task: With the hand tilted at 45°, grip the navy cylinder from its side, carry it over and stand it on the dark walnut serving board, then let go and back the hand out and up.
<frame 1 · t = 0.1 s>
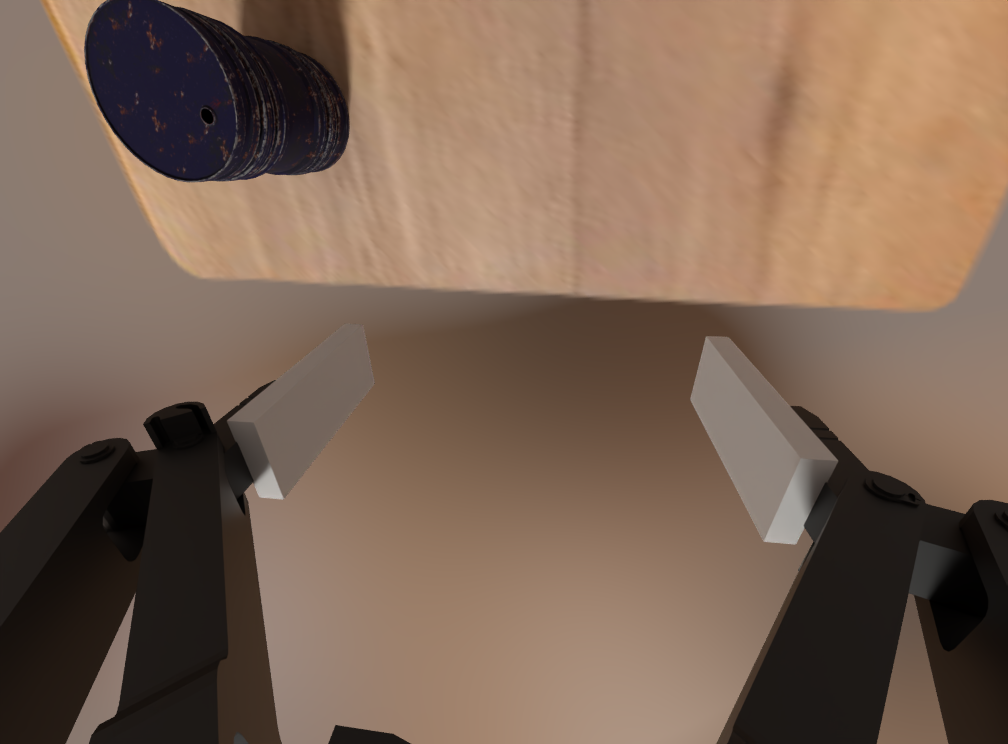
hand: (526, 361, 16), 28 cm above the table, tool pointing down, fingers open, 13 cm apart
navy cylinder: (301, 115, 38), on the table
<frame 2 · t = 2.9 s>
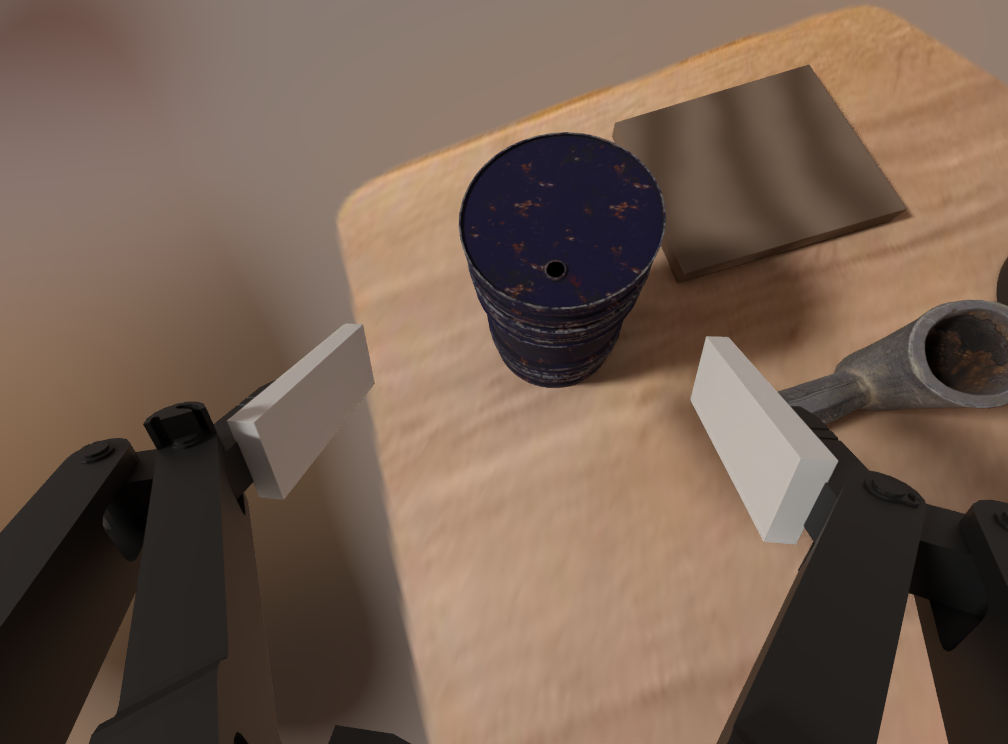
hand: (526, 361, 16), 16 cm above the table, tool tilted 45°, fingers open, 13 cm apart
navy cylinder: (553, 332, 33), on the table
pipe: (834, 397, 30), on the table
walnut serving board: (742, 175, 35), on the table
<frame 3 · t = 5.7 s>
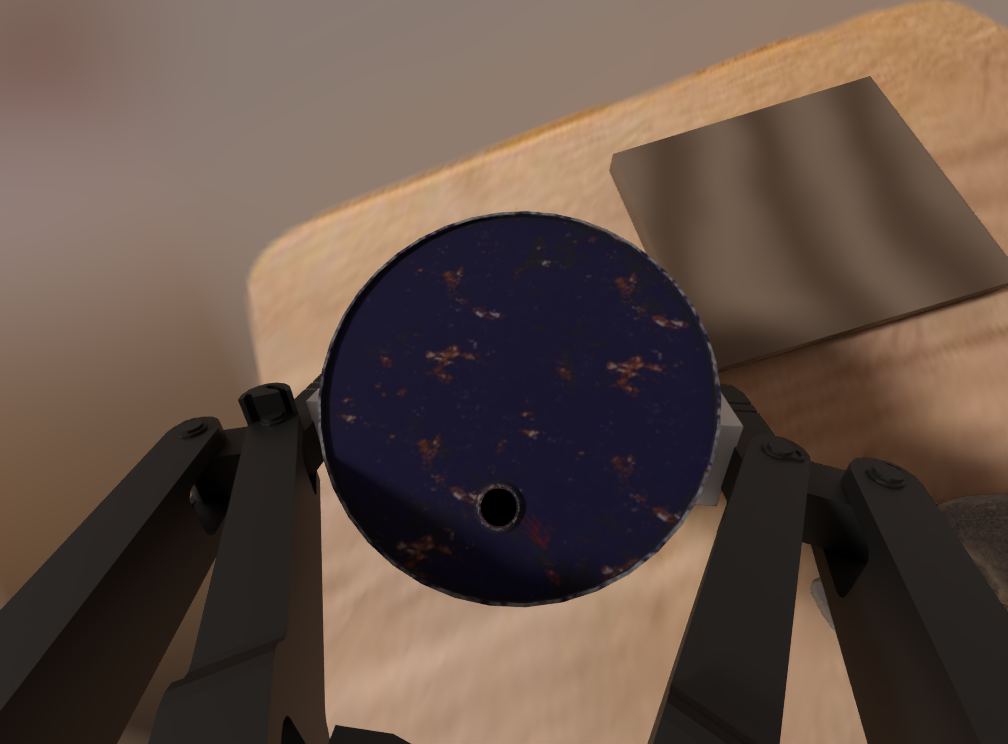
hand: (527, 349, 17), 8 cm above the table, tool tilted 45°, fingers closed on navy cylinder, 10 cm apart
navy cylinder: (530, 445, 24), on the table, touching gripper
pipe: (921, 561, 21), on the table
walnut serving board: (784, 225, 26), on the table
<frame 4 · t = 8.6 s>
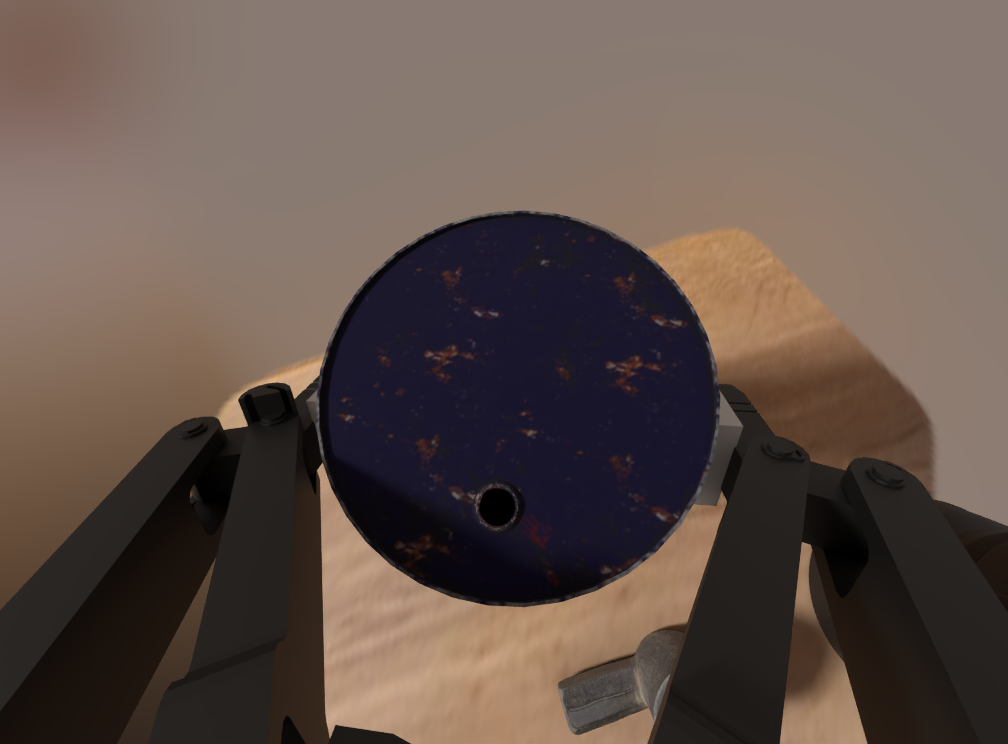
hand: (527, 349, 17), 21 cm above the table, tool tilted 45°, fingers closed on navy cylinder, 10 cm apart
navy cylinder: (529, 445, 24), point 13 cm above the table, touching gripper
pipe: (638, 668, 32), on the table
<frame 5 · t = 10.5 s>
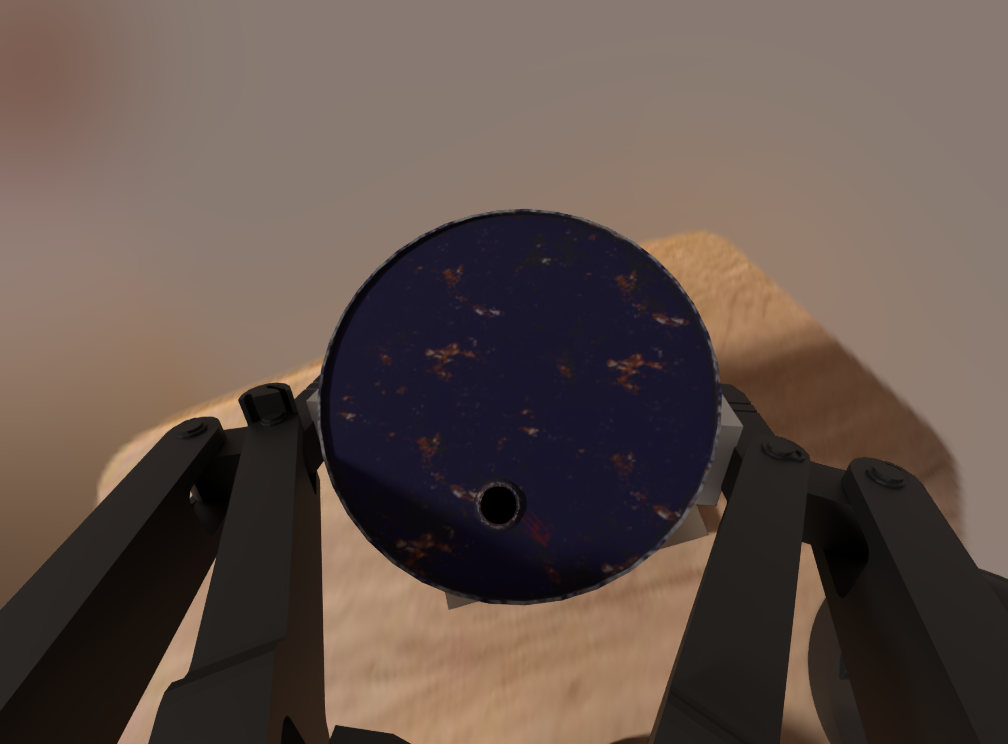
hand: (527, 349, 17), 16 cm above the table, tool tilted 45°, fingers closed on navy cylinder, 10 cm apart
navy cylinder: (530, 444, 24), point 7 cm above the table, touching gripper
walnut serving board: (542, 456, 31), on the table
when the fingers open (11 cm above the table, at t = 12.0 s): navy cylinder drops 1 cm, resting on walnut serving board.
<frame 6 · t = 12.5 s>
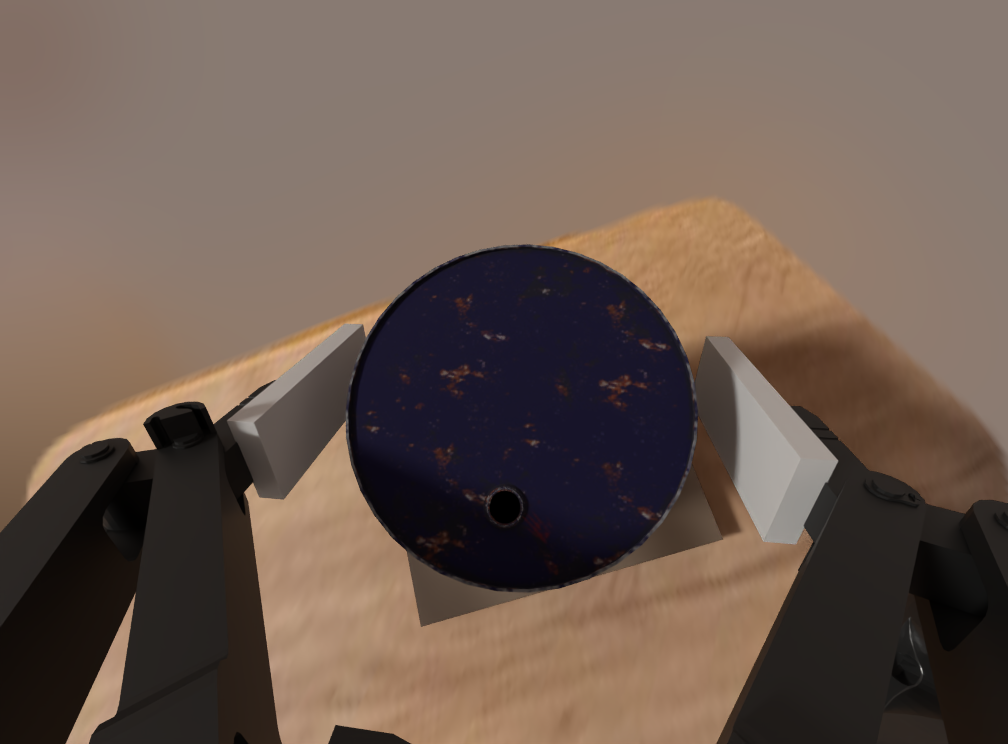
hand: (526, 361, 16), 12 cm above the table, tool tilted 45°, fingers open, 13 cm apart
navy cylinder: (531, 448, 26), point 1 cm above the table, touching walnut serving board
walnut serving board: (531, 449, 27), on the table
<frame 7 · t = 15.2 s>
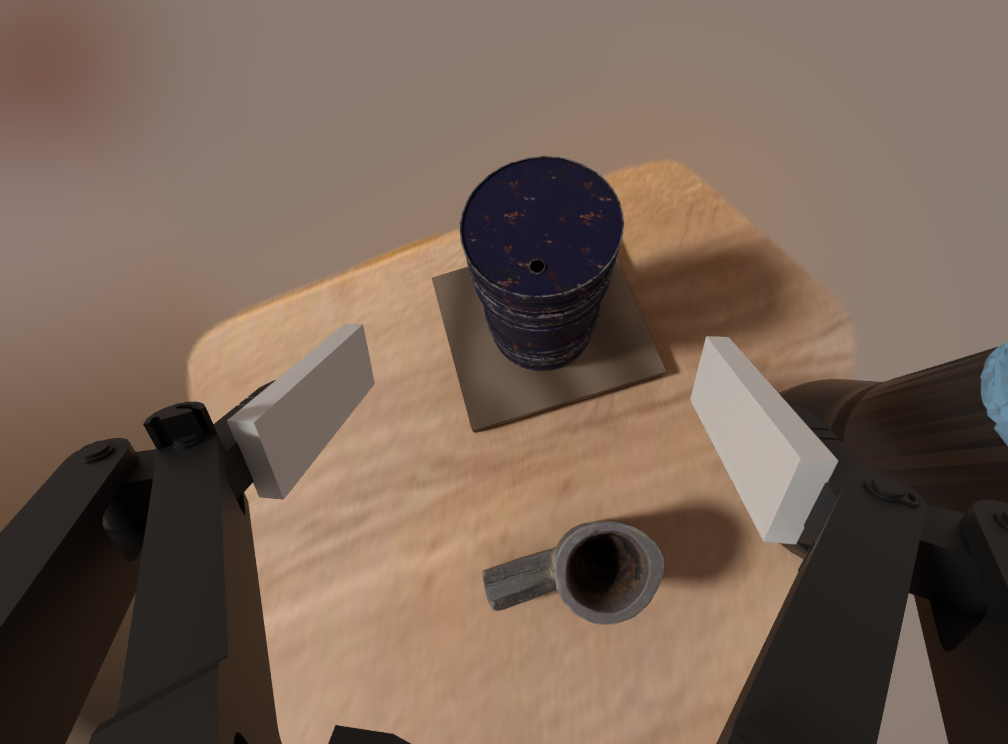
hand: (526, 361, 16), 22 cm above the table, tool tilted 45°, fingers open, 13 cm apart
navy cylinder: (541, 323, 38), point 1 cm above the table, touching walnut serving board
pipe: (563, 561, 34), on the table
walnut serving board: (541, 327, 39), on the table
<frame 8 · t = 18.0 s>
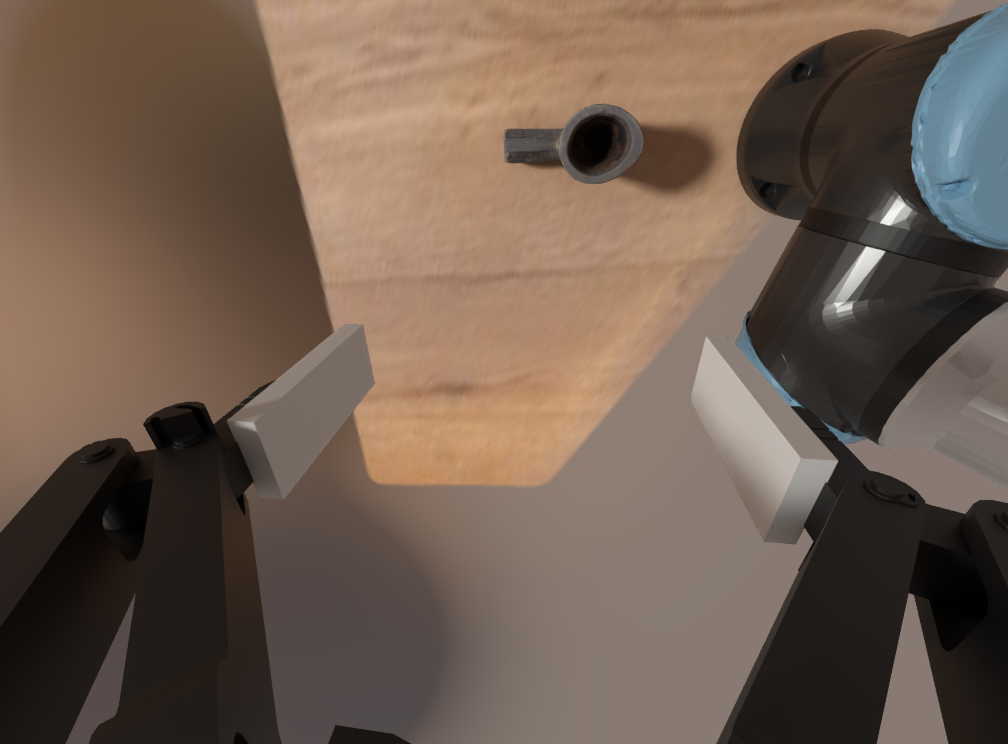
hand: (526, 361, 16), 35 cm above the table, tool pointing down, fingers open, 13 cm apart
pipe: (567, 146, 42), on the table
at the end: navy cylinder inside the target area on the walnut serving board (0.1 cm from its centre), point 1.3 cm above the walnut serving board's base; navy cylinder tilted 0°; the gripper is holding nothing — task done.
